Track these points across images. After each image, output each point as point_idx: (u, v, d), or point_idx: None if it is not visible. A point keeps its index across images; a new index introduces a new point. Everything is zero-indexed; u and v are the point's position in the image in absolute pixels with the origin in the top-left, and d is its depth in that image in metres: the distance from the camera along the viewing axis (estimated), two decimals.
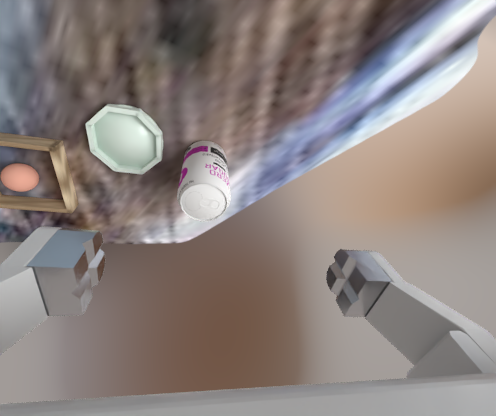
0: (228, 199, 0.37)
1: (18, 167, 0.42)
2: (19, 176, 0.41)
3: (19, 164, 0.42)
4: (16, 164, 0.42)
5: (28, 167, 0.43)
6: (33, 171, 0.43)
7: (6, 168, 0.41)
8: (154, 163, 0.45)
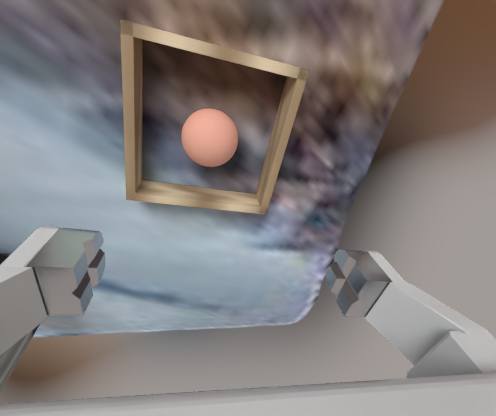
0: None
1: (183, 127, 0.21)
2: (195, 127, 0.19)
3: None
4: None
5: (190, 116, 0.21)
6: (199, 110, 0.21)
7: (184, 148, 0.21)
8: None
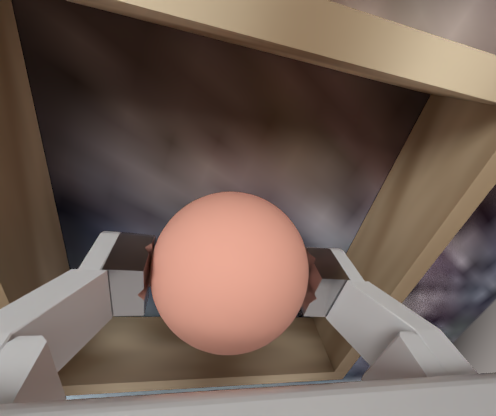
0: None
1: (153, 255, 0.07)
2: (188, 281, 0.06)
3: None
4: None
5: (176, 215, 0.07)
6: (200, 201, 0.07)
7: None
8: None
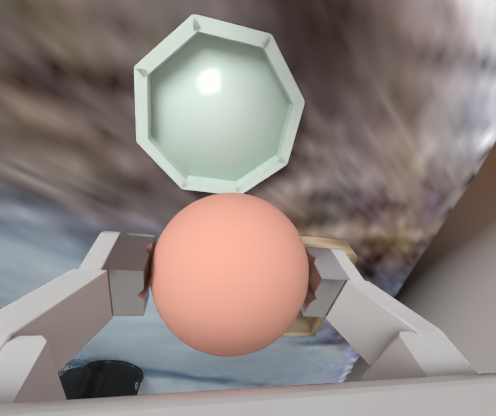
0: None
1: (153, 256, 0.07)
2: (188, 283, 0.06)
3: None
4: None
5: (176, 216, 0.07)
6: (200, 202, 0.07)
7: None
8: (278, 58, 0.16)
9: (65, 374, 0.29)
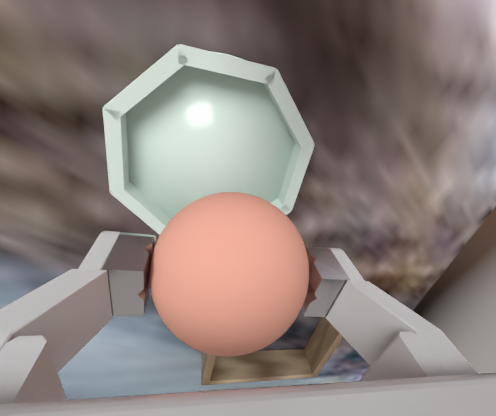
0: None
1: (152, 256, 0.07)
2: (188, 282, 0.06)
3: None
4: None
5: (176, 215, 0.07)
6: (200, 202, 0.07)
7: None
8: (285, 96, 0.13)
9: None
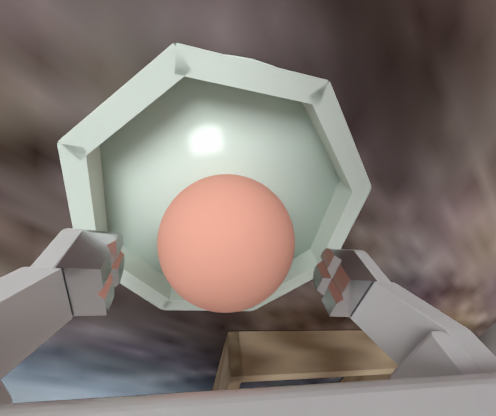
0: None
1: (160, 227, 0.08)
2: (190, 244, 0.07)
3: None
4: None
5: (179, 193, 0.09)
6: (200, 181, 0.08)
7: None
8: (337, 122, 0.09)
9: None
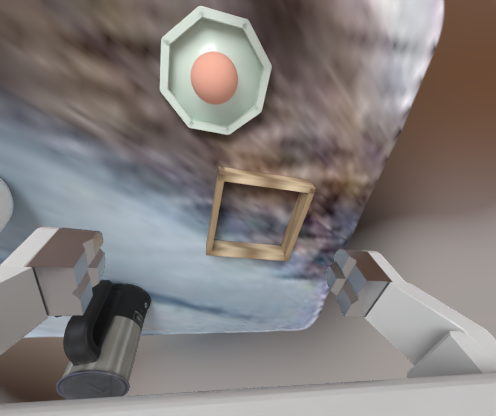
0: None
1: (192, 67, 0.25)
2: (201, 64, 0.24)
3: None
4: None
5: None
6: None
7: (192, 85, 0.25)
8: (253, 36, 0.25)
9: None
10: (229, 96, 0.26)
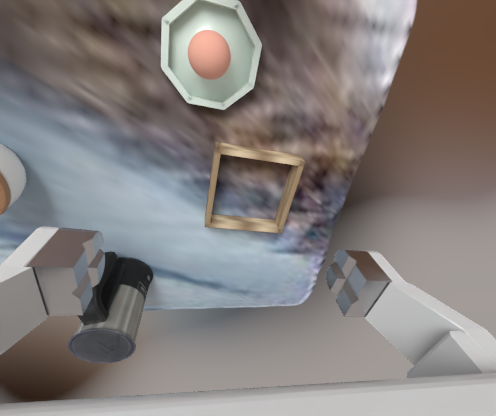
0: None
1: (189, 44, 0.28)
2: (196, 40, 0.26)
3: None
4: None
5: None
6: None
7: (189, 61, 0.28)
8: (244, 16, 0.28)
9: None
10: (222, 71, 0.29)
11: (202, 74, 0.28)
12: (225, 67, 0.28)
